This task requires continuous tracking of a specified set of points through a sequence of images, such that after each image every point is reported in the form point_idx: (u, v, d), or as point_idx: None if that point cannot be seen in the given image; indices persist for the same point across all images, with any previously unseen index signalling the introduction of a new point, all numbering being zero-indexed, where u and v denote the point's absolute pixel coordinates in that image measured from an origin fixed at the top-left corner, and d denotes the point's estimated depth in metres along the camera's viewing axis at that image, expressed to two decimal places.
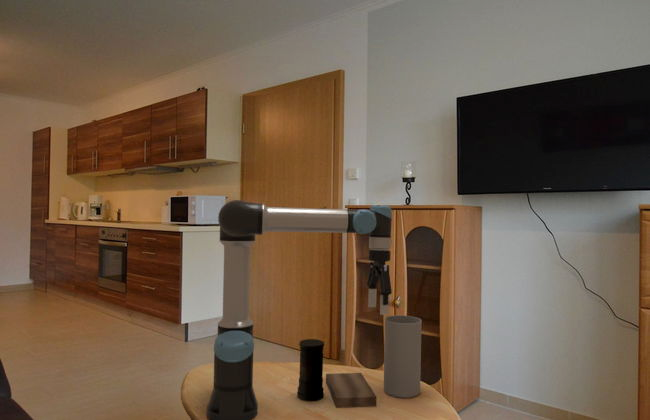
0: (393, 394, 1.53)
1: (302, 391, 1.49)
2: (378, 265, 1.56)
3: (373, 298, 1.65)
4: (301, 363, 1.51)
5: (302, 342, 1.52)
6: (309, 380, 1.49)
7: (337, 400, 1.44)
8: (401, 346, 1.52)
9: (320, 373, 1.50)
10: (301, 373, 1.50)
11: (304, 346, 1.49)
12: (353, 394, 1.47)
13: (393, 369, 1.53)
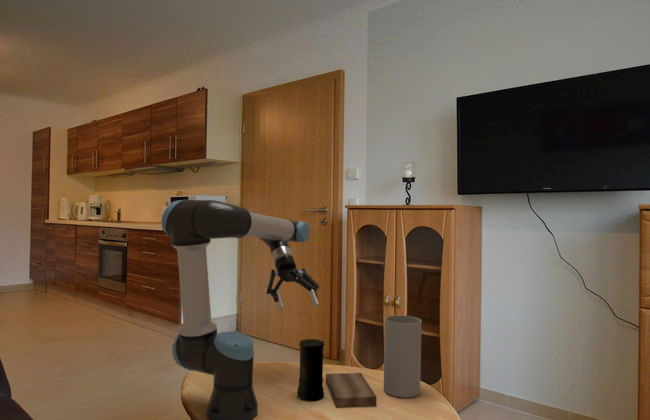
0: (393, 394, 1.53)
1: (302, 391, 1.49)
2: (294, 269, 1.72)
3: None
4: (301, 363, 1.51)
5: (302, 342, 1.52)
6: (309, 380, 1.49)
7: (337, 400, 1.44)
8: (401, 346, 1.52)
9: (320, 373, 1.50)
10: (301, 373, 1.50)
11: (304, 346, 1.49)
12: (353, 394, 1.47)
13: (393, 369, 1.53)
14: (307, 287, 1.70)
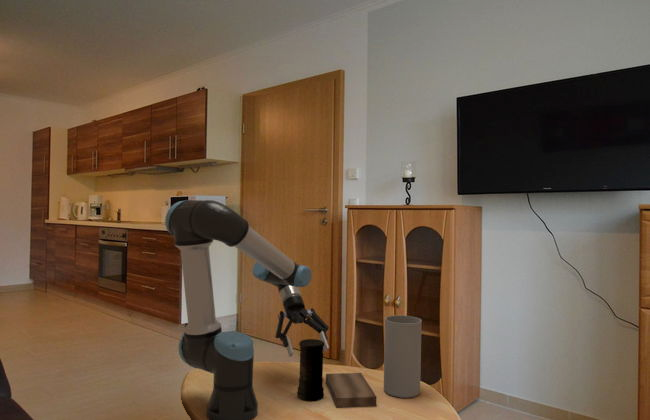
0: (393, 394, 1.53)
1: (302, 391, 1.49)
2: (303, 310, 1.67)
3: None
4: (301, 363, 1.51)
5: (302, 342, 1.52)
6: (309, 380, 1.49)
7: (337, 400, 1.44)
8: (401, 346, 1.52)
9: (320, 373, 1.50)
10: (301, 373, 1.50)
11: (304, 346, 1.49)
12: (353, 394, 1.47)
13: (393, 369, 1.53)
14: (316, 329, 1.65)
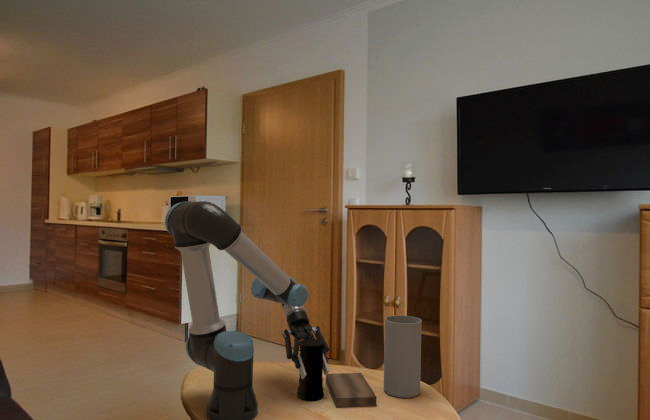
0: (393, 394, 1.53)
1: (302, 391, 1.49)
2: (308, 325, 1.61)
3: None
4: None
5: (302, 342, 1.52)
6: (309, 380, 1.49)
7: (337, 400, 1.44)
8: (401, 346, 1.52)
9: (320, 373, 1.50)
10: None
11: (304, 346, 1.49)
12: (353, 394, 1.47)
13: (393, 369, 1.53)
14: None
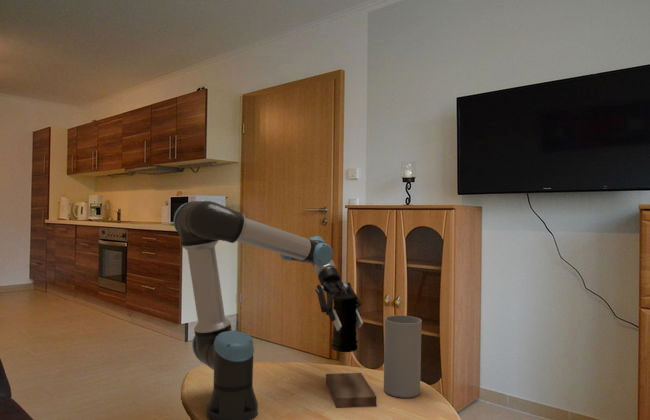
0: (393, 394, 1.53)
1: (337, 343, 1.53)
2: (339, 282, 1.64)
3: None
4: None
5: (336, 296, 1.55)
6: (344, 332, 1.52)
7: (337, 400, 1.44)
8: (401, 346, 1.52)
9: (354, 325, 1.54)
10: None
11: (338, 299, 1.52)
12: (353, 394, 1.47)
13: (393, 369, 1.53)
14: None
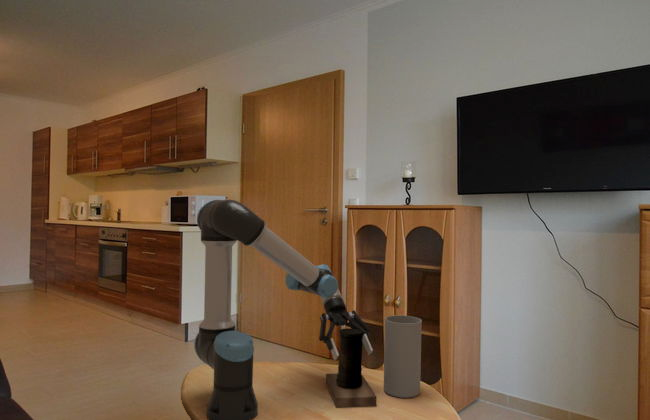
0: (393, 394, 1.53)
1: (342, 378, 1.52)
2: (345, 312, 1.64)
3: None
4: (341, 351, 1.54)
5: (342, 330, 1.56)
6: (349, 368, 1.52)
7: (337, 400, 1.44)
8: (401, 346, 1.52)
9: (360, 361, 1.54)
10: (341, 361, 1.54)
11: (345, 334, 1.53)
12: (353, 394, 1.47)
13: (393, 369, 1.53)
14: None
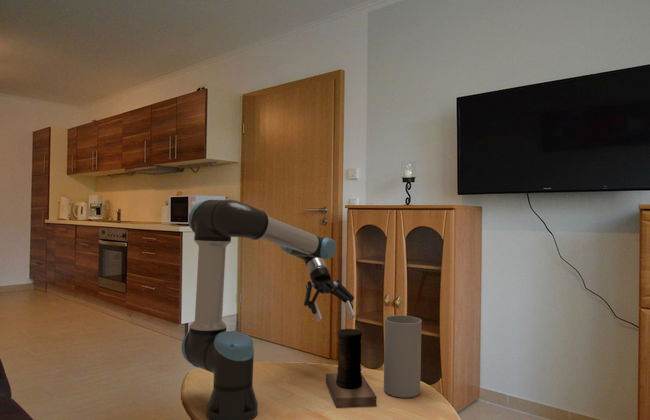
0: (393, 394, 1.53)
1: (342, 379, 1.52)
2: (329, 281, 1.75)
3: None
4: (340, 352, 1.54)
5: (340, 331, 1.55)
6: (349, 369, 1.52)
7: (337, 400, 1.44)
8: (401, 346, 1.52)
9: (359, 361, 1.53)
10: (340, 362, 1.53)
11: (343, 335, 1.52)
12: (353, 394, 1.47)
13: (393, 369, 1.53)
14: (342, 298, 1.72)
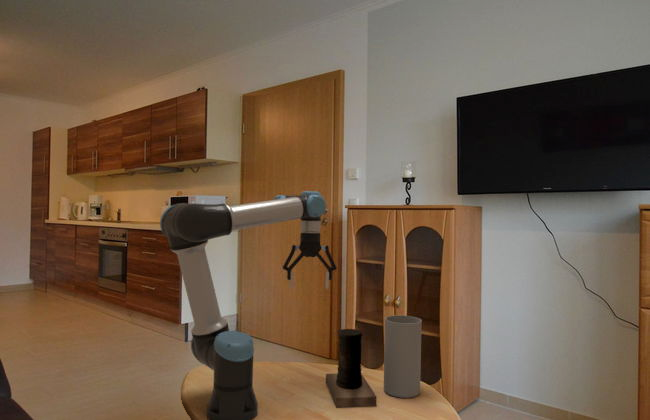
0: (393, 394, 1.53)
1: (342, 379, 1.52)
2: (317, 246, 1.71)
3: None
4: (340, 352, 1.53)
5: (341, 332, 1.55)
6: (349, 369, 1.52)
7: (337, 400, 1.44)
8: (401, 346, 1.52)
9: (359, 362, 1.53)
10: (340, 362, 1.53)
11: (344, 335, 1.52)
12: (353, 394, 1.47)
13: (393, 369, 1.53)
14: (325, 266, 1.73)
